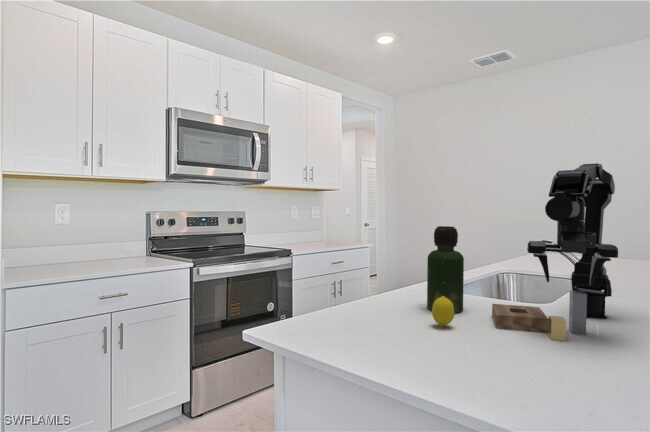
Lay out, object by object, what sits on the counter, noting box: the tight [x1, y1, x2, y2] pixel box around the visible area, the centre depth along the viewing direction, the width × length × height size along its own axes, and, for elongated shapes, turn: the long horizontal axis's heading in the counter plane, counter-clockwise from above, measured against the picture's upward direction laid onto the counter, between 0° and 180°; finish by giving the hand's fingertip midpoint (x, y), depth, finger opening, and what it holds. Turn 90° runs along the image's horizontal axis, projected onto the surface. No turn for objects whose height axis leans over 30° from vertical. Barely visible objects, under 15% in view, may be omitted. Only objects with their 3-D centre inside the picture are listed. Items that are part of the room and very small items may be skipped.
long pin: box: [568, 290, 587, 335], centre depth 101 cm, size 3×3×10 cm
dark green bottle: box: [426, 225, 465, 314], centre depth 122 cm, size 10×10×25 cm
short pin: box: [547, 315, 567, 342], centre depth 96 cm, size 3×3×5 cm
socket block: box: [491, 303, 549, 334], centre depth 108 cm, size 12×12×4 cm
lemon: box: [431, 296, 455, 328], centre depth 105 cm, size 6×6×8 cm
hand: (569, 283), depth 100 cm, fingers open, 9 cm apart
